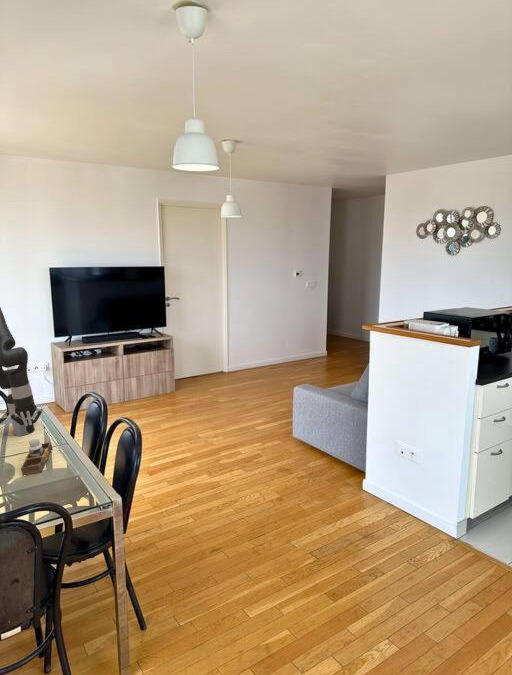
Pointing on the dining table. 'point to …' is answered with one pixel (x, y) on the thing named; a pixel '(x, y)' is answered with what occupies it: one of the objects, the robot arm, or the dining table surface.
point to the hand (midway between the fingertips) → (31, 432)
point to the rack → (36, 461)
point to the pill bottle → (35, 448)
